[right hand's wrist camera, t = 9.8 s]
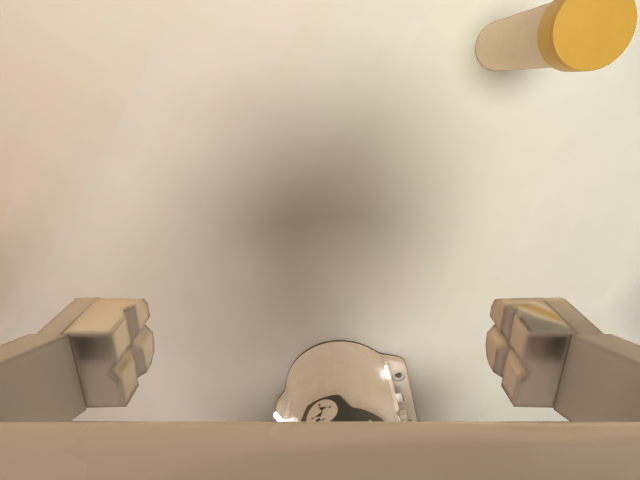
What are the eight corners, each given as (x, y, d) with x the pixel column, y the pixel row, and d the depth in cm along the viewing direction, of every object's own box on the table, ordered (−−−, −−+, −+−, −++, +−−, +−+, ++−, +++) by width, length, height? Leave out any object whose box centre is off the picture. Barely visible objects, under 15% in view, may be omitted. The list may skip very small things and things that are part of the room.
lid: (616, -21, 29) (640, -29, 27) (612, 63, 31) (634, 62, 29) (536, -4, 30) (552, -11, 28) (537, 78, 32) (553, 78, 29)
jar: (521, 16, 43) (629, -20, 28) (522, 65, 44) (624, 57, 29) (473, 25, 43) (555, -4, 28) (476, 74, 45) (555, 71, 30)
